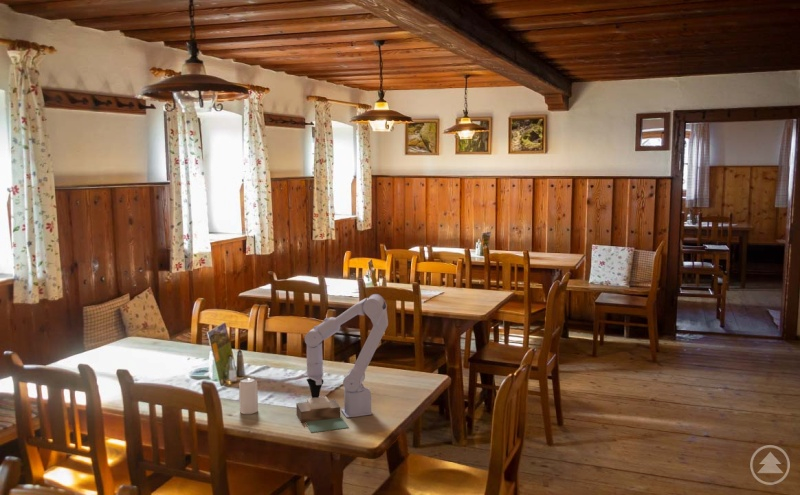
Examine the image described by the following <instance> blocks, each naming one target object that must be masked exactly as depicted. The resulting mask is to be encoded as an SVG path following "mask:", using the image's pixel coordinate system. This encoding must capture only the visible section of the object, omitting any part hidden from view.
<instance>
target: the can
mask: <svg viewBox="0 0 800 495" xmlns="http://www.w3.org/2000/svg"><path fill="white" fill-rule="evenodd" d="M238 389H239V391H238V394H239V395H238V398H239V412H240V414H242V415H246V416H247V415H253V414H256V413H257V412H258V411H259V401H258V400H259V399H258V398H259V396H258V395H259V394H258V391H259V390H258V382H257V379H256V378H255V377H253V376H252V377H243V378H241V379H240V380H239V384H238Z"/></svg>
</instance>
